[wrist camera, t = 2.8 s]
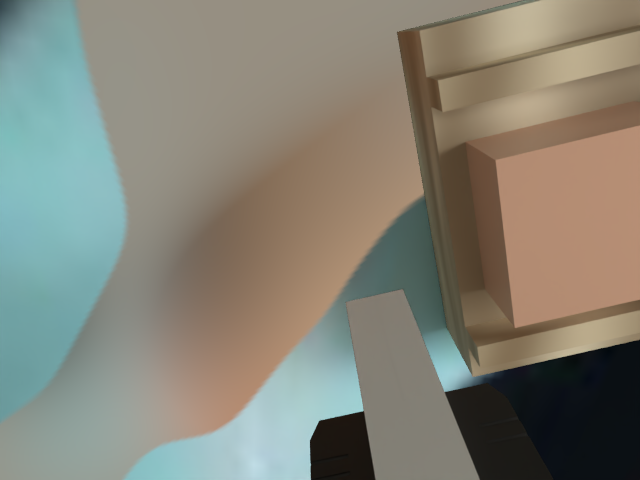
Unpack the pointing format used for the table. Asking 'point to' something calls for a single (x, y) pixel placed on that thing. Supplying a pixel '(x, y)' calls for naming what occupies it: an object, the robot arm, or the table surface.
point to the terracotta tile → (560, 214)
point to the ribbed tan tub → (502, 116)
